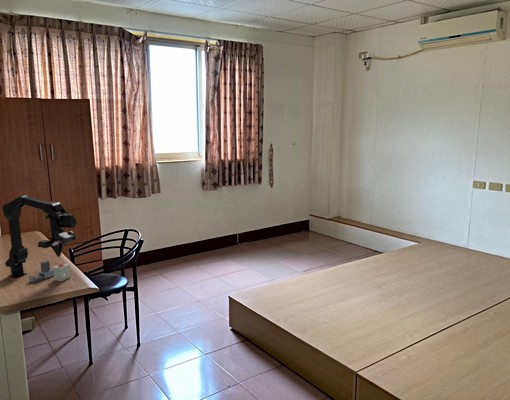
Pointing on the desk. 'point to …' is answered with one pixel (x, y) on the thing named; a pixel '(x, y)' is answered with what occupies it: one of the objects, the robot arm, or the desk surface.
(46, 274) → the carriage
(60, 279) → the cabinet
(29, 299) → the desk surface
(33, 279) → the rail
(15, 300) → the desk surface
